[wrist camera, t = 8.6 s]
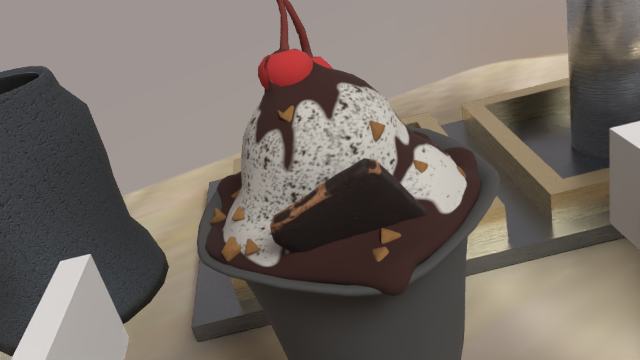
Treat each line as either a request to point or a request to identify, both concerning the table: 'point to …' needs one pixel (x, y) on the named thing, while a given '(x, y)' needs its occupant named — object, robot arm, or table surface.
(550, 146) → the olive compartment tray
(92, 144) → the mug
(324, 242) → the sundae
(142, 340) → the table surface
